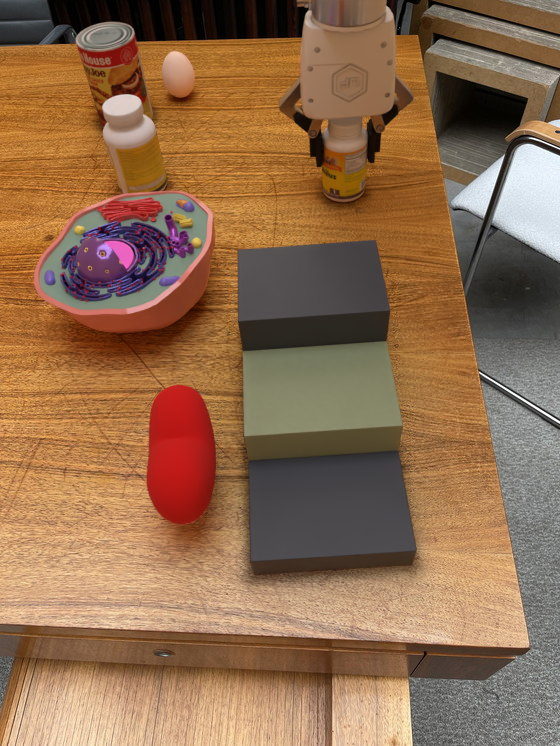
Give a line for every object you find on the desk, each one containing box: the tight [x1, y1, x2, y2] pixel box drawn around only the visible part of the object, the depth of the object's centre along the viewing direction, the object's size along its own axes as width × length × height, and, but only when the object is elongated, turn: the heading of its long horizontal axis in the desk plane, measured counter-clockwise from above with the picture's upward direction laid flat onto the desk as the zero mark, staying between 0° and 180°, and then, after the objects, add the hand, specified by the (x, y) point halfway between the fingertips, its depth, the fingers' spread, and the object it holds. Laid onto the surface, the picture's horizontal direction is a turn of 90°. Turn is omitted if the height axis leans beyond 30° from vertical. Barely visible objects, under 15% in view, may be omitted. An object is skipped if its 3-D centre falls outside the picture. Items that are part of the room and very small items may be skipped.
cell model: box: [33, 190, 216, 334], centre depth 67 cm, size 17×20×11 cm
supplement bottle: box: [321, 117, 368, 203], centre depth 77 cm, size 6×6×10 cm
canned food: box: [75, 21, 154, 129], centre depth 90 cm, size 8×8×12 cm
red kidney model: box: [146, 384, 217, 526], centre depth 53 cm, size 12×5×10 cm, turn 4°
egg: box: [161, 50, 196, 99], centre depth 95 cm, size 5×5×7 cm
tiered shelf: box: [236, 239, 417, 576], centre depth 56 cm, size 13×27×11 cm, turn 3°
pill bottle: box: [102, 94, 168, 194], centre depth 80 cm, size 6×6×12 cm
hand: (344, 157), depth 77 cm, fingers closed on supplement bottle, 5 cm apart
